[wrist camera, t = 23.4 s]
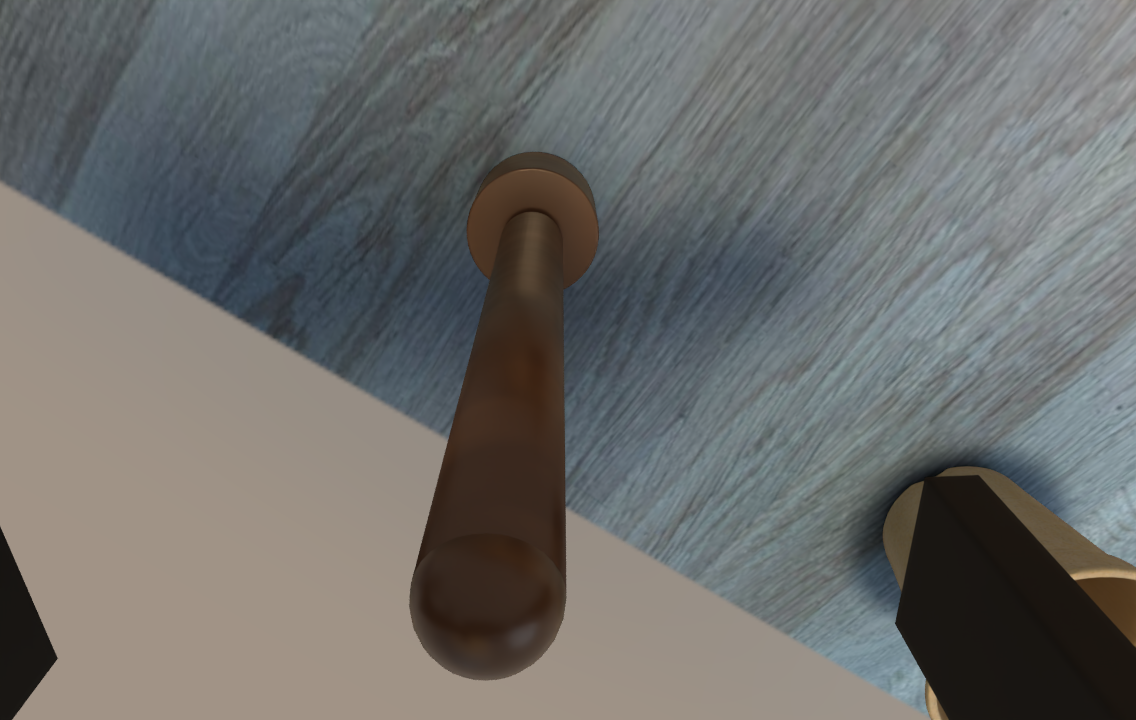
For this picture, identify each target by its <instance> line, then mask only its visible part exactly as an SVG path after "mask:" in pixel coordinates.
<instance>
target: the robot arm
mask: <svg viewBox="0 0 1136 720" xmlns="http://www.w3.org/2000/svg"><path fill="white" fill-rule="evenodd" d="M895 624H896V626H897V628H898V630H899V631H900V633H901V635H902V637H903V639H904V640H905V642H906V644H907V646H908V648H909V649H910V651H911V653H912V655H913V656H914V658H915V660H916V662H917V664H918V665H919V667H920V669H921V671H922V673H923V674H924V676H925V678H926V680H927V682H928V683H929V685H930V687H931V689H932V691H933V692H934V694H935V696H936V698H937V700H938V701H939V703H940V705H941V707H942V708H943V710H944V712H945V714H946V716H947V717H948V719H949V720H1136V647H1135V646H1134V645H1133V644H1132V643H1131V642H1130V641H1129V640H1128V638H1127V637H1126V636H1125V635H1124V634H1123V633H1122V632H1121V631H1120V630H1119V629H1118V627H1117V626H1116V625H1115V624H1114V623H1113V622H1112V621H1111V620H1110V619H1109V618H1108V616H1107V615H1106V614H1105V613H1104V612H1103V611H1102V610H1101V609H1100V608H1099V607H1098V605H1097V604H1096V603H1095V602H1094V601H1093V600H1092V599H1091V598H1090V597H1089V596H1088V594H1087V593H1086V592H1085V591H1084V590H1083V589H1082V588H1081V587H1080V586H1079V585H1078V584H1077V582H1076V581H1075V580H1074V579H1073V578H1072V577H1071V576H1070V575H1069V574H1068V573H1067V571H1066V570H1065V569H1064V568H1063V567H1062V566H1061V565H1060V564H1059V563H1058V562H1057V560H1056V559H1055V558H1054V557H1053V556H1052V555H1051V554H1050V553H1049V552H1048V551H1047V549H1046V548H1045V547H1044V546H1043V545H1042V544H1041V543H1040V542H1039V541H1038V540H1037V538H1036V537H1035V536H1034V535H1033V534H1032V533H1031V532H1030V531H1029V530H1028V529H1027V527H1026V526H1025V525H1024V524H1023V523H1022V522H1021V521H1020V520H1019V519H1018V518H1017V516H1016V515H1015V514H1014V513H1013V512H1012V511H1011V510H1010V509H1009V508H1008V507H1007V505H1006V504H1005V503H1004V502H1003V501H1002V500H1001V499H1000V498H999V497H998V496H997V494H996V493H995V492H994V491H993V490H992V489H991V488H990V487H989V486H988V485H987V484H986V482H985V481H984V480H983V479H982V478H981V477H980V476H979V475H964V476H939V477H925V479H924V484H923V489H922V494H921V499H920V504H919V509H918V514H917V519H916V524H915V529H914V533H913V538H912V543H911V548H910V553H909V558H908V563H907V568H906V573H905V578H904V583H903V588H902V592H901V597H900V602H899V607H898V612H897V617H896V622H895ZM56 660H57V656H56V654H55V651H54V649H53V647H52V644H51V642H50V640H49V638H48V635H47V633H46V631H45V628H44V626H43V624H42V622H41V619H40V617H39V615H38V612H37V610H36V608H35V605H34V603H33V601H32V598H31V596H30V594H29V592H28V589H27V587H26V585H25V582H24V580H23V578H22V575H21V573H20V571H19V569H18V566H17V564H16V562H15V559H14V557H13V555H12V553H11V550H10V548H9V546H8V544H7V541H6V539H5V536H4V534H3V532H2V530H1V527H0V720H12V719H13V718H14V716H15V715H16V714H17V712H18V711H19V710H20V708H21V707H22V706H23V704H24V703H25V701H26V700H27V699H28V698H29V696H30V695H31V694H32V692H33V691H34V690H35V688H36V687H37V685H38V684H39V683H40V682H41V680H42V679H43V678H44V676H45V675H46V673H47V672H48V671H49V669H50V668H51V667H52V665H53V664H54V663H55V661H56Z"/></svg>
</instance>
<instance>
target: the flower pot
mask: <svg viewBox="0 0 1136 720" xmlns="http://www.w3.org/2000/svg"><path fill="white" fill-rule="evenodd" d="M964 475H979V476H980V477H981V478H982V479H983V480H984V481H985V482H986V484H987V485H988V486H989V487H990V488H991V489H992V490H993V491H994V492H995V493H996V494H997V496H998V497H999V498H1000V499H1001V500H1002V501H1003V502H1004V503H1005V504H1006V505H1007V507H1008V508H1009V509H1010V510H1011V511H1012V512H1013V513H1014V514H1015V515H1016V516H1017V518H1018V519H1019V520H1020V521H1021V522H1022V523H1023V524H1024V525H1025V526H1026V527H1027V529H1028V530H1029V531H1030V532H1031V533H1032V534H1033V535H1034V536H1035V537H1036V538H1037V540H1038V541H1039V542H1040V543H1041V544H1042V545H1043V546H1044V547H1045V548H1046V549H1047V551H1048V552H1049V553H1050V554H1051V555H1052V556H1053V557H1054V558H1055V559H1056V560H1057V562H1058V563H1059V564H1060V565H1061V566H1062V567H1063V568H1064V569H1065V570H1066V571H1067V573H1068V574H1069V575H1070V576H1071V577H1072V578H1073V579H1074V580H1075V581H1076V582H1077V584H1078V585H1079V586H1080V587H1081V588H1082V589H1083V590H1084V591H1085V592H1086V593H1087V594H1088V596H1089V597H1090V598H1091V599H1092V600H1093V601H1094V602H1095V603H1096V604H1097V605H1098V607H1099V608H1100V609H1101V610H1102V611H1103V612H1104V613H1105V614H1106V615H1107V616H1108V618H1109V619H1110V620H1111V621H1112V622H1113V623H1114V624H1115V625H1116V626H1117V627H1118V629H1119V630H1120V631H1121V632H1122V633H1123V634H1124V635H1125V636H1126V637H1127V638H1128V640H1129V641H1130V642H1131V643H1132V644H1133V645H1134V646H1135V647H1136V567H1134V566H1133V565H1131V564H1129V563H1127V562H1125V561H1123V560H1122V559H1119V558H1117V557H1114V556H1112V555H1108V554H1106V553H1105V552H1104V551H1102V550H1101V549H1099V548H1098V547H1097V546H1096V545H1094V544H1093V543H1092V542H1090V541H1089V540H1088V539H1086V538H1085V537H1084V536H1082V535H1081V534H1080V533H1079V532H1077V531H1076V530H1075V529H1073V528H1072V527H1071V526H1070V525H1068V524H1067V523H1066V522H1064V521H1063V520H1062V519H1060V518H1059V517H1058V516H1056V515H1055V514H1054V513H1053V512H1051V511H1050V510H1049V509H1047V508H1046V507H1045V506H1043V505H1042V504H1041V503H1039V502H1038V501H1037V500H1035V499H1034V498H1033V497H1032V496H1030V495H1029V494H1028V493H1026V492H1025V491H1024V490H1023V489H1021V488H1020V487H1019V486H1018V485H1016V484H1015V483H1014V482H1013V481H1012V480H1010V479H1009V478H1007V477H1006V476H1004V475H1002V474H1001V473H998V472H996V471H993V470H991V469H987V468H981V467H970V466H966V467H954V468H948V469H946V470H944V471H943V472H942V473H941V474H939V475H937V476H935V477H939V476H964ZM923 484H924V481H922V482H918V483H915V484H913V485H911V486H910V487H909V488H908V489H907V490H905V491H904V492H903V493H902V494H901V495H900V496H899V498H898V499H897V500H896V501H895V502H894V504H893V505H892V507H891V509H890V510H889V512H888V514H887V517H886V520H885V523H884V527H883V543H884V547H885V551H886V555H887V558H888V560H889V562H890V563H891V566H892V569H893V571H894V574H895V576H896V579H897V582H898V584H899V587H900V590H901V592H902V588H903V583H904V578H905V573H906V568H907V563H908V558H909V553H910V548H911V543H912V538H913V533H914V529H915V524H916V519H917V514H918V509H919V504H920V499H921V494H922V489H923ZM925 700H926V706H927V710H928V713H929V715H930V718H931V720H949V719H948V717H947V716H946V714H945V712H944V710H943V708H942V707H941V705H940V703H939V701H938V700H937V698H936V696H935V694H934V692H933V691H932V689H931V687H930V685H929V683H928V682H927V680H926V684H925Z"/></svg>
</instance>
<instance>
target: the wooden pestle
mask: <svg viewBox="0 0 1136 720" xmlns="http://www.w3.org/2000/svg"><path fill="white" fill-rule="evenodd" d="M598 240H599V227H598V219H597V214H596V208H595V202H594V198H593V194H592V191H591V189H590V187H589V185H588V183H587V181H586V180H585V178H584V177H583V175H582V174H581V173H580V172H579V171H578V170H577V169H576V168H575V167H574V166H573V165H571V164H570V163H569V162H567V161H565V160H564V159H562V158H560V157H557V156H555V155H552V154H548V153H542V152H527V153H521V154H517V155H514V156H512V157H509V158H507V159H505V160H504V161H502V162H500V163H499V164H498V165H497V166H495V167H494V168H493V169H492V170H491V171H490V172H489V174H488V175H487V176H486V178H485V179H484V181H483V183H482V184H481V186H480V189H479V191H478V193H477V195H476V198H475V200H474V202H473V204H472V207H471V209H470V212H469V216H468V220H467V241H468V246H469V250H470V253H471V255H472V258H473V260H474V262H475V263H476V265H477V267H478V268H479V269H480V271H481V272H482V273H483V274H484V275H485V276H486V277H487V278H488V279H489V280H490V281H489V285H488V289H487V293H486V297H485V300H484V304H483V308H482V312H481V316H480V320H479V324H478V327H477V331H476V335H475V339H474V343H473V347H472V351H471V354H470V358H469V362H468V366H467V370H466V374H465V378H464V381H463V385H462V389H461V393H460V397H459V401H458V405H457V408H456V412H455V416H454V420H453V424H452V428H451V432H450V435H449V439H448V443H447V447H446V451H445V455H444V459H443V462H442V467H441V470H440V474H439V478H438V482H437V486H436V489H435V493H434V497H433V501H432V505H431V509H430V513H429V516H428V521H427V524H426V528H425V532H424V536H423V540H422V543H421V547H420V551H419V555H418V559H417V563H416V567H415V570H414V574H413V578H412V582H411V589H410V604H409V607H410V613H411V618H412V623H413V627H414V630H415V632H416V634H417V636H418V638H419V640H420V642H421V644H422V646H423V648H424V649H425V650H426V651H427V653H428V654H429V655H430V656H431V657H432V658H433V659H434V660H435V661H436V662H438V663H439V664H440V665H441V666H442V667H444V668H445V669H447V670H448V671H450V672H452V673H454V674H456V675H459V676H462V677H465V678H469V679H474V680H497V679H502V678H506V677H509V676H512V675H514V674H517V673H519V672H521V671H522V670H524V669H526V668H527V667H529V666H531V665H532V664H534V663H535V662H536V661H537V660H538V659H539V658H540V657H541V656H542V655H543V654H544V653H545V652H546V651H547V649H548V648H549V647H550V645H551V644H552V642H553V641H554V640H555V637H556V635H557V633H558V630H559V628H560V626H561V623H562V621H563V617H564V611H565V604H566V515H565V514H566V512H565V407H564V302H563V290H564V289H566V288H568V287H569V286H571V285H572V284H574V283H575V282H576V281H577V280H578V279H579V278H580V277H582V275H583V274H584V273H585V272H586V271H587V269H588V268H589V266H590V264H591V263H592V261H593V258H594V256H595V253H596V250H597V246H598Z"/></svg>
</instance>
